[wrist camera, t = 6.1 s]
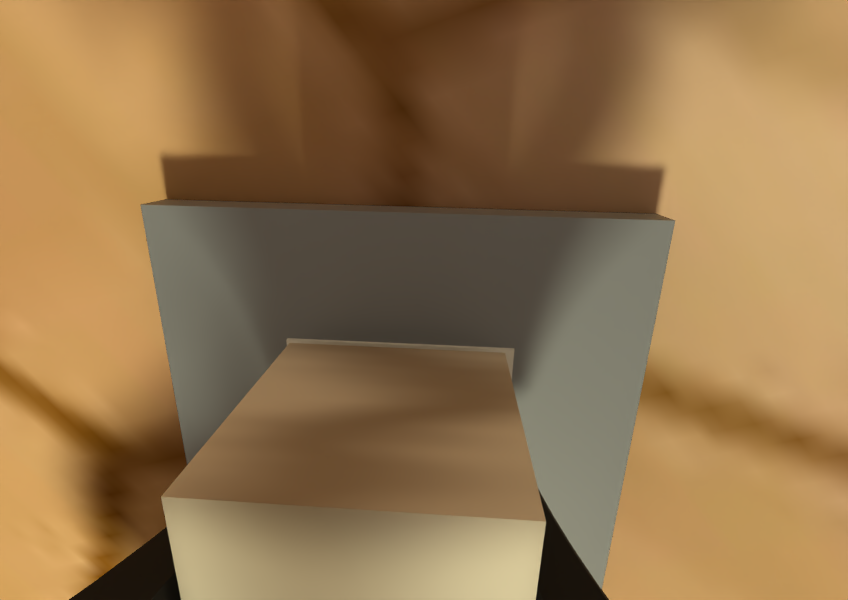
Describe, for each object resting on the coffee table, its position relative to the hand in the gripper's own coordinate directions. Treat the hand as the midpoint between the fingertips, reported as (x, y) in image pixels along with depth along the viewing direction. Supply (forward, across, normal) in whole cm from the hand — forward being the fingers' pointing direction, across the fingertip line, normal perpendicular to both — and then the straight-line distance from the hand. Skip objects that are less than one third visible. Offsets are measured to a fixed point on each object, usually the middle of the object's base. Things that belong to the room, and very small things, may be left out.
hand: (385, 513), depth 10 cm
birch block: (+2, 0, 0) cm, 2 cm away
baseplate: (+4, 0, 0) cm, 4 cm away
